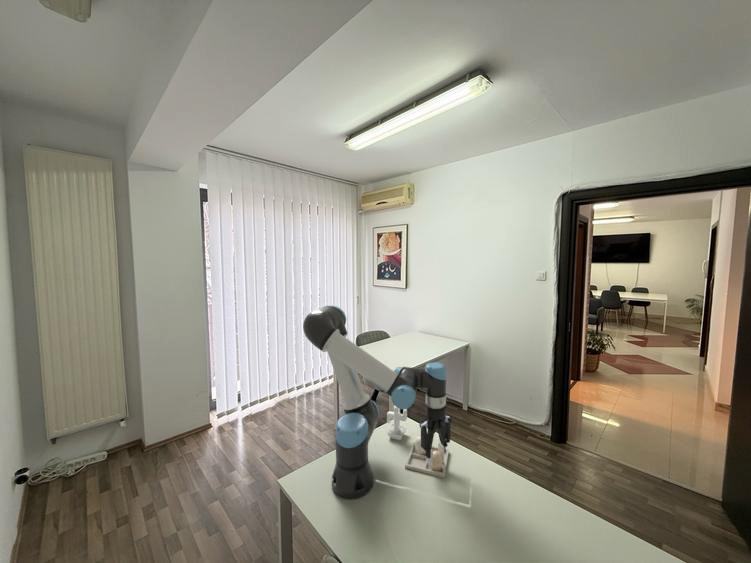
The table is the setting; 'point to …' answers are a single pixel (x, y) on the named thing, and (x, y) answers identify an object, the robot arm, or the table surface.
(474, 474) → the table surface
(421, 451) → the resting egg
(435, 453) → the egg
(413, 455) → the divided tray
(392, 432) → the figurine
